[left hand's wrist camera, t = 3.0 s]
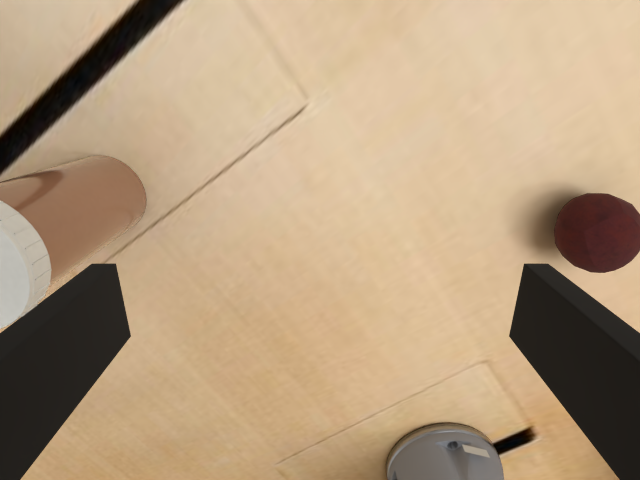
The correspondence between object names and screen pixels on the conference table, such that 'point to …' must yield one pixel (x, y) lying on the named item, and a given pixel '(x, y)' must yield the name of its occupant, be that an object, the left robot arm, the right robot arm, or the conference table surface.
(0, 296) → the lid
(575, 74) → the conference table surface
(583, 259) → the dark red ball
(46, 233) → the jar
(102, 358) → the left robot arm
